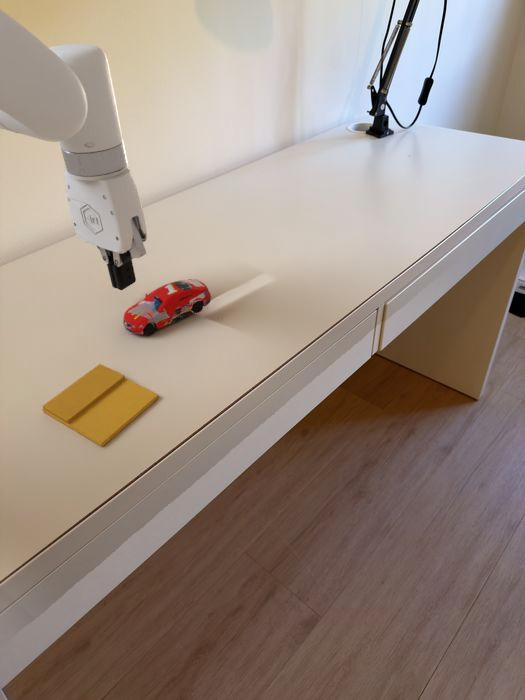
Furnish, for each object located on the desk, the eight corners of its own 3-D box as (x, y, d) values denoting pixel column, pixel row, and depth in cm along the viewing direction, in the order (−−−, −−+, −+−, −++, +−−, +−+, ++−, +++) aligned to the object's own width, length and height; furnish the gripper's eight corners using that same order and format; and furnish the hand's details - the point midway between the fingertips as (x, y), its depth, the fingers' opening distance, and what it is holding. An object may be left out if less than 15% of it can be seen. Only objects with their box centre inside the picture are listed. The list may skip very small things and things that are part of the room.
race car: (135, 343, 71) (129, 319, 68) (118, 325, 74) (111, 301, 72) (217, 306, 77) (214, 282, 74) (197, 290, 80) (194, 268, 78)
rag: (101, 447, 57) (99, 441, 56) (42, 412, 61) (40, 405, 61) (159, 397, 62) (157, 391, 62) (101, 368, 67) (99, 362, 66)
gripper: (33, 157, 67) (70, 282, 78) (115, 179, 60) (143, 312, 71) (79, 141, 72) (108, 261, 83) (160, 159, 65) (179, 287, 76)
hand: (124, 284), depth 77 cm, fingers closed
